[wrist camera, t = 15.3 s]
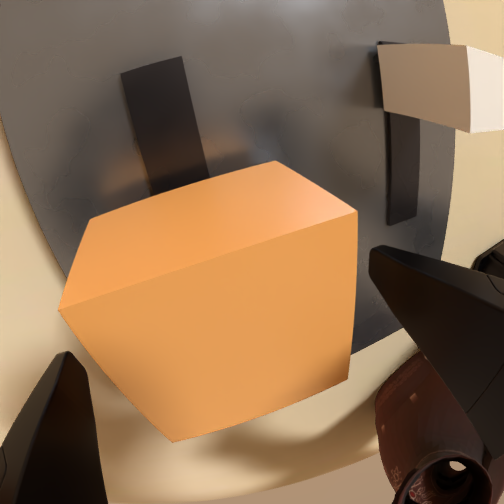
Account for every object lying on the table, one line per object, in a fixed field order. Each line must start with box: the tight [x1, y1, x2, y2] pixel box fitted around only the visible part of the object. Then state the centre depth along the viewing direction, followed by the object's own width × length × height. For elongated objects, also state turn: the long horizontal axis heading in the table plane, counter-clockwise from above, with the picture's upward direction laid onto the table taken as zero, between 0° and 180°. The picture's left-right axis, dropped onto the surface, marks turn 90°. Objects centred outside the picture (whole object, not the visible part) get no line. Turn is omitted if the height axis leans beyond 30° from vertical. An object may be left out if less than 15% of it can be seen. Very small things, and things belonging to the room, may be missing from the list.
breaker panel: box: [0, 0, 455, 355], centre depth 11 cm, size 22×18×2 cm
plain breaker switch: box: [377, 44, 504, 133], centre depth 7 cm, size 3×3×4 cm
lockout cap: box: [58, 161, 358, 443], centre depth 8 cm, size 6×6×4 cm
